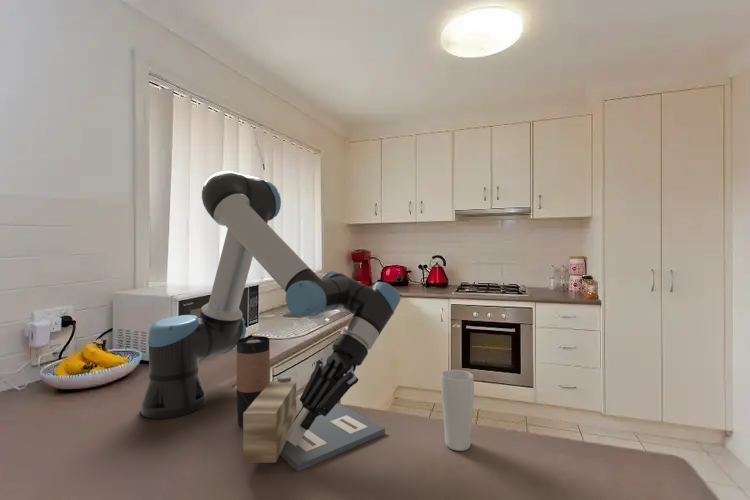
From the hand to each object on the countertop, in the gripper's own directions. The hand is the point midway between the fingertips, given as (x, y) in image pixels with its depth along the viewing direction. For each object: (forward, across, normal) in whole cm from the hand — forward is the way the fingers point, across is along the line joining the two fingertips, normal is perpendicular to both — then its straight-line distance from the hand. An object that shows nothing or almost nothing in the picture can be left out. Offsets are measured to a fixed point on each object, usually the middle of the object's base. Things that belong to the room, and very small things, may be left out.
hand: (289, 441), depth 73 cm
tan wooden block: (+1, +7, -1) cm, 7 cm away
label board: (-5, +5, -10) cm, 12 cm away
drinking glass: (-18, -18, -24) cm, 35 cm away
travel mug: (+2, +21, -4) cm, 21 cm away
